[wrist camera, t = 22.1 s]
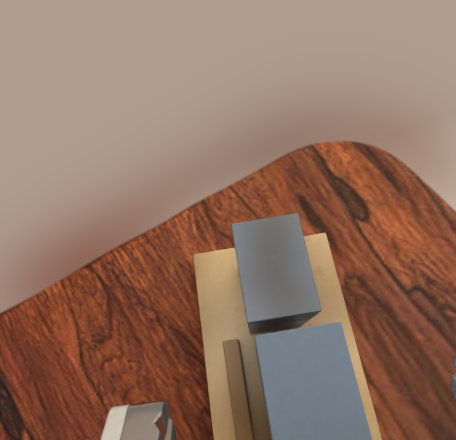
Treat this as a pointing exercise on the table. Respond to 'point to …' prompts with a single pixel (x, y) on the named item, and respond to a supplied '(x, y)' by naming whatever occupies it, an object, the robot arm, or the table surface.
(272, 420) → the loose pad
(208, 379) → the pad board
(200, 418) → the table surface
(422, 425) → the table surface
